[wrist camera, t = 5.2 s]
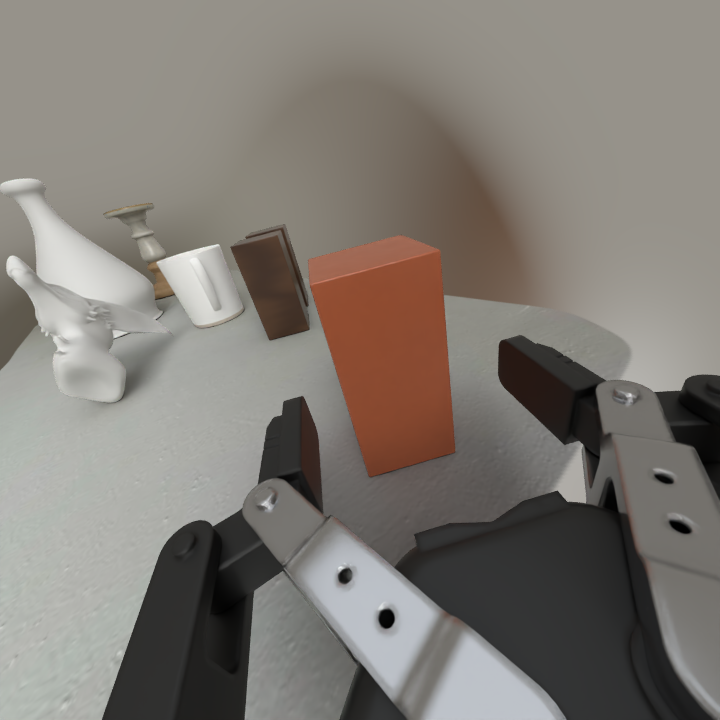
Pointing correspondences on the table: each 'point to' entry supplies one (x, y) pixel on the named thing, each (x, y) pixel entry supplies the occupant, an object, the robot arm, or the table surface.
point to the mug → (203, 285)
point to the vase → (78, 256)
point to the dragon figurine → (81, 335)
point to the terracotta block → (389, 348)
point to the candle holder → (144, 242)
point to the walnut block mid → (272, 284)
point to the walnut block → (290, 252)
